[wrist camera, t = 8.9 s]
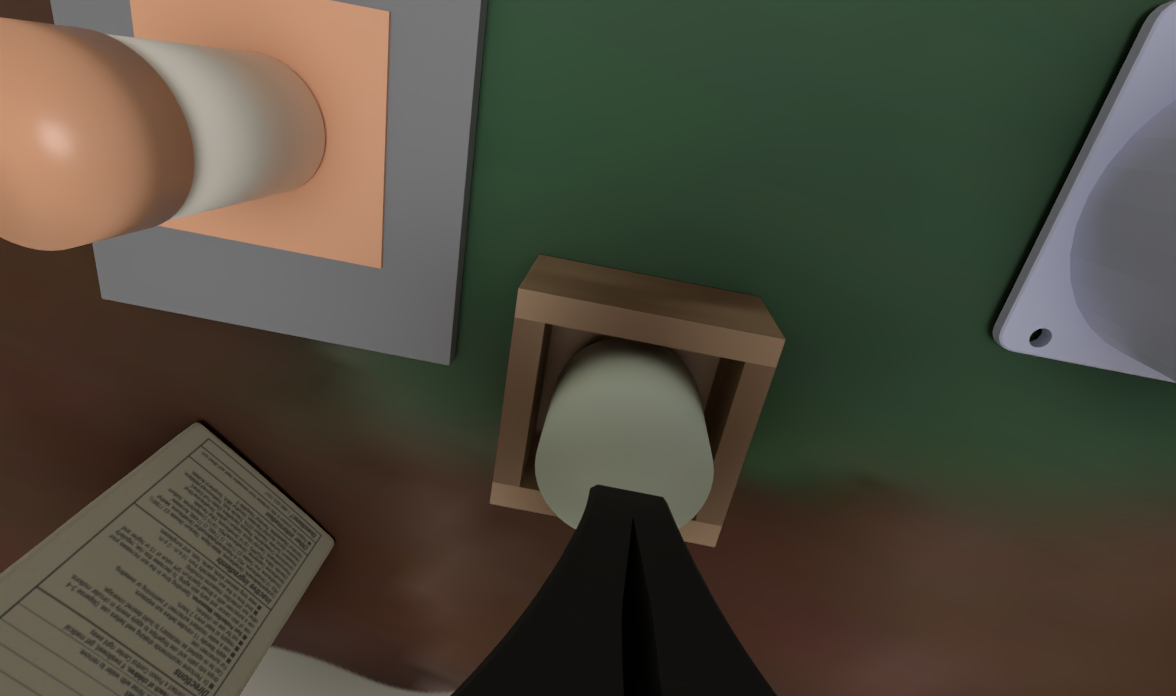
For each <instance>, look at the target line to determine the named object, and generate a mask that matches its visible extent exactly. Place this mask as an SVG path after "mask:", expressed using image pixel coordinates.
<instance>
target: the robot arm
mask: <svg viewBox="0 0 1176 696" xmlns="http://www.w3.org/2000/svg"><path fill="white" fill-rule="evenodd" d="M1038 329H1042V333H1041V335H1040V336H1039V337H1038V338H1037V339H1035V340H1033V341H1029V339H1030V336H1031V334H1032V333H1033V332H1034V331H1036V330H1038ZM992 333H993V338H994V340H995V341H996V342H997V343H998V344H999V345H1000V346H1002V347H1003V348H1005V349H1007V350H1010V351H1013V352H1018V353H1023V354H1029V355H1034V356H1039V357H1044V358H1049V359H1054V360H1060V361H1065V362H1070V363H1075V364H1080V365H1086V366H1091V367H1096V368H1101V369H1106V370H1112V371H1117V372H1122V373H1127V374H1132V375H1137V376H1143V377H1148V378H1153V379H1158V380H1163V381H1169V382H1174V383H1176V0H1173V1H1169V2H1167V3H1165V4H1162V5H1160V6H1159V7H1157V8H1156V9H1155V10H1154V11H1153V12H1151V13H1150V15H1149V16H1148V18H1147V19H1146V20H1145V22H1144V24H1143V26H1142V28H1141V30H1140V32H1139V34H1138V36H1137V38H1136V40H1135V42H1134V44H1133V46H1132V48H1131V50H1130V52H1129V54H1128V56H1127V58H1126V60H1125V62H1124V64H1123V66H1122V68H1121V70H1120V72H1119V74H1118V76H1117V78H1116V80H1115V82H1114V84H1113V86H1112V88H1111V90H1110V92H1109V94H1108V96H1107V98H1106V100H1105V102H1104V104H1103V107H1102V109H1101V111H1100V113H1099V115H1098V117H1097V119H1096V121H1095V123H1094V125H1093V127H1092V129H1091V131H1090V133H1089V135H1088V137H1087V139H1086V141H1085V143H1084V145H1083V147H1082V149H1081V151H1080V153H1079V155H1078V157H1077V159H1076V161H1075V163H1074V165H1073V167H1072V169H1071V171H1070V173H1069V175H1068V177H1067V179H1066V181H1065V183H1064V185H1063V187H1062V190H1061V192H1060V194H1059V196H1058V198H1057V200H1056V202H1055V204H1054V206H1053V208H1052V210H1051V212H1050V214H1049V216H1048V218H1047V220H1046V222H1045V224H1044V226H1043V228H1042V230H1041V232H1040V234H1039V236H1038V238H1037V240H1036V242H1035V244H1034V246H1033V248H1032V250H1031V252H1030V254H1029V256H1028V258H1027V260H1026V262H1025V264H1024V266H1023V268H1022V270H1021V273H1020V275H1019V277H1018V279H1017V281H1016V283H1015V285H1014V287H1013V289H1012V291H1011V293H1010V295H1009V297H1008V299H1007V301H1006V303H1005V305H1004V307H1003V309H1002V311H1001V313H1000V315H999V317H998V319H997V321H996V323H995V325H994V329H993V332H992ZM451 696H777V695H776V694H775V692H774V691H773V690H772V688H771V687H770V685H769V684H768V683H767V681H766V680H765V678H764V677H763V676H762V674H761V673H760V671H759V670H758V669H757V667H756V666H755V664H754V663H753V661H752V660H751V658H750V657H749V655H748V654H747V652H746V651H745V649H744V648H743V646H742V645H741V643H740V641H739V640H738V638H737V637H736V635H735V633H734V632H733V630H732V629H731V627H730V625H729V624H728V622H727V620H726V619H725V617H724V615H723V614H722V612H721V610H720V609H719V607H718V605H717V603H716V602H715V600H714V598H713V596H712V595H711V593H710V591H709V589H708V587H707V585H706V583H705V582H704V580H703V578H702V576H701V574H700V572H699V570H698V568H697V567H696V565H695V563H694V561H693V559H692V557H691V555H690V553H689V551H688V548H687V546H686V544H685V542H684V540H683V538H682V536H681V534H680V531H679V529H678V527H677V525H676V522H675V520H674V518H673V515H672V513H671V511H670V508H669V506H668V503H667V502H666V500H665V499H664V497H661V496H656V495H650V494H645V493H640V492H635V491H630V490H624V489H619V488H614V487H609V486H604V485H598V484H597V485H595V486H593V487H591V488H590V491H589V495H588V500H587V505H586V508H585V510H584V513H583V515H582V518H581V520H580V522H579V524H578V526H577V529H576V531H575V533H574V535H573V536H572V538H571V540H570V542H569V544H568V545H567V547H566V549H565V551H564V553H563V554H562V556H561V558H560V560H559V561H558V563H557V565H556V566H555V568H554V569H553V571H552V572H551V574H550V575H549V577H548V578H547V580H546V581H545V583H544V584H543V586H542V587H541V589H540V590H539V592H538V593H537V595H536V596H535V598H534V599H533V600H532V602H531V603H530V604H529V606H528V607H527V609H526V610H525V611H524V613H523V614H522V615H521V616H520V618H519V619H518V620H517V622H516V623H515V624H514V625H513V627H512V628H511V629H510V630H509V632H508V633H507V634H506V635H505V637H504V638H503V639H502V640H501V641H500V642H499V644H498V645H497V646H496V647H495V648H494V649H493V650H492V652H491V653H490V654H489V655H488V656H487V657H486V658H485V660H484V661H483V662H482V663H481V664H480V665H479V666H478V667H477V669H476V670H475V671H474V672H473V673H472V674H471V675H470V676H469V677H468V678H467V679H466V680H465V681H464V682H463V684H462V685H461V686H460V687H459V688H458V689H457V690H456V691H455V692H454V693H453V694H452V695H451Z"/></svg>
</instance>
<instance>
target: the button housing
mask: <svg viewBox="0 0 1176 696" xmlns="http://www.w3.org/2000/svg"><path fill="white" fill-rule="evenodd" d="M617 337H619V338H624V339H629V340H635V341H640V342H645V343H650V344H655V345H660V346H664V347H666V348H668V349H669V350H671V351H672V352H673V353H675V354H676V355H677V356H678V357H679V358H680V359H681V360H683V361H684V363H685V364H686V365H687V366H688V368H689V369H690V371H691V372H692V374H693V376H694V378H695V381H696V383H697V386H698V390H699V394H700V399H701V404H702V409H703V414H704V419H705V424H706V429H707V433H708V438H709V443H710V448H711V453H712V458H713V466H714V475H713V483H712V487H711V490H710V493H709V495H708V498H707V500H706V501H705V503H704V505H703V507H702V508H701V509H700V510H699V512H698V513H697V514H696V515H695V516H694V517H693V518H692V519H691V520H690V521H689V522H688V523H686V524H685V525H684V526H682V527H681V528H679V531H680V534H681V536H682V538H683V540H684V541H686V542H691V543H696V544H701V545H706V546H712V547H715V545H716V542H717V539H718V537H719V534H720V531H721V528H722V525H723V522H724V519H725V516H726V513H727V510H728V507H729V504H730V501H731V498H732V495H733V493H734V490H735V487H736V484H737V481H738V478H739V475H740V472H741V469H742V466H743V463H744V460H745V457H746V454H747V451H748V449H749V446H750V443H751V440H752V437H753V434H754V431H755V428H756V425H757V422H758V419H759V416H760V413H761V410H762V407H763V405H764V402H765V399H766V396H767V393H768V390H769V387H770V384H771V381H772V378H773V375H774V372H775V369H776V366H777V363H778V360H779V358H780V355H781V352H782V349H783V346H784V343H785V338H784V336H783V335H782V333H781V331H780V330H779V328H778V326H777V325H776V323H775V321H774V320H773V318H772V316H771V315H770V313H769V311H768V310H767V308H766V306H765V305H764V303H763V301H762V300H761V298H760V297H758V296H753V295H748V294H743V293H738V292H732V291H727V290H722V289H717V288H712V287H707V286H701V285H696V284H691V283H686V282H681V281H675V280H670V279H665V278H660V277H655V276H649V275H644V274H639V273H634V272H629V271H624V270H618V269H613V268H608V267H603V266H598V265H592V264H587V263H582V262H577V261H572V260H566V259H561V258H556V257H551V256H546V255H540V254H539V256H538V257H537V259H536V261H535V262H534V264H533V265H532V267H531V269H530V270H529V272H528V273H527V275H526V277H525V278H524V280H523V281H522V283H521V285H520V286H519V288H518V295H517V302H516V310H515V317H514V325H513V332H512V340H511V347H510V355H509V362H508V370H507V378H506V385H505V393H504V400H503V408H502V415H501V423H500V430H499V438H498V445H497V453H496V460H495V468H494V475H493V483H492V491H491V498H490V504H495V505H500V506H505V507H510V508H515V509H521V510H526V511H531V512H536V513H541V514H546V515H552V516H557V515H556V514H555V513H554V512H553V511H552V510H551V508H550V507H549V506H548V504H547V503H546V501H545V500H544V498H543V496H542V494H541V492H540V489H539V487H538V484H537V479H536V475H535V458H536V452H537V448H538V445H539V441H540V438H541V434H542V431H543V427H544V423H545V420H546V416H547V413H548V409H549V406H550V402H551V399H552V395H553V392H554V388H555V385H556V382H557V379H558V377H559V374H560V373H561V371H562V369H563V368H564V366H565V365H566V364H567V363H568V361H569V360H570V359H571V358H572V357H573V356H574V355H575V354H577V353H578V352H579V351H581V350H582V349H584V348H585V347H587V346H589V345H591V344H593V343H596V342H599V341H601V340H605V339H610V338H617ZM557 517H558V516H557Z"/></svg>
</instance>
